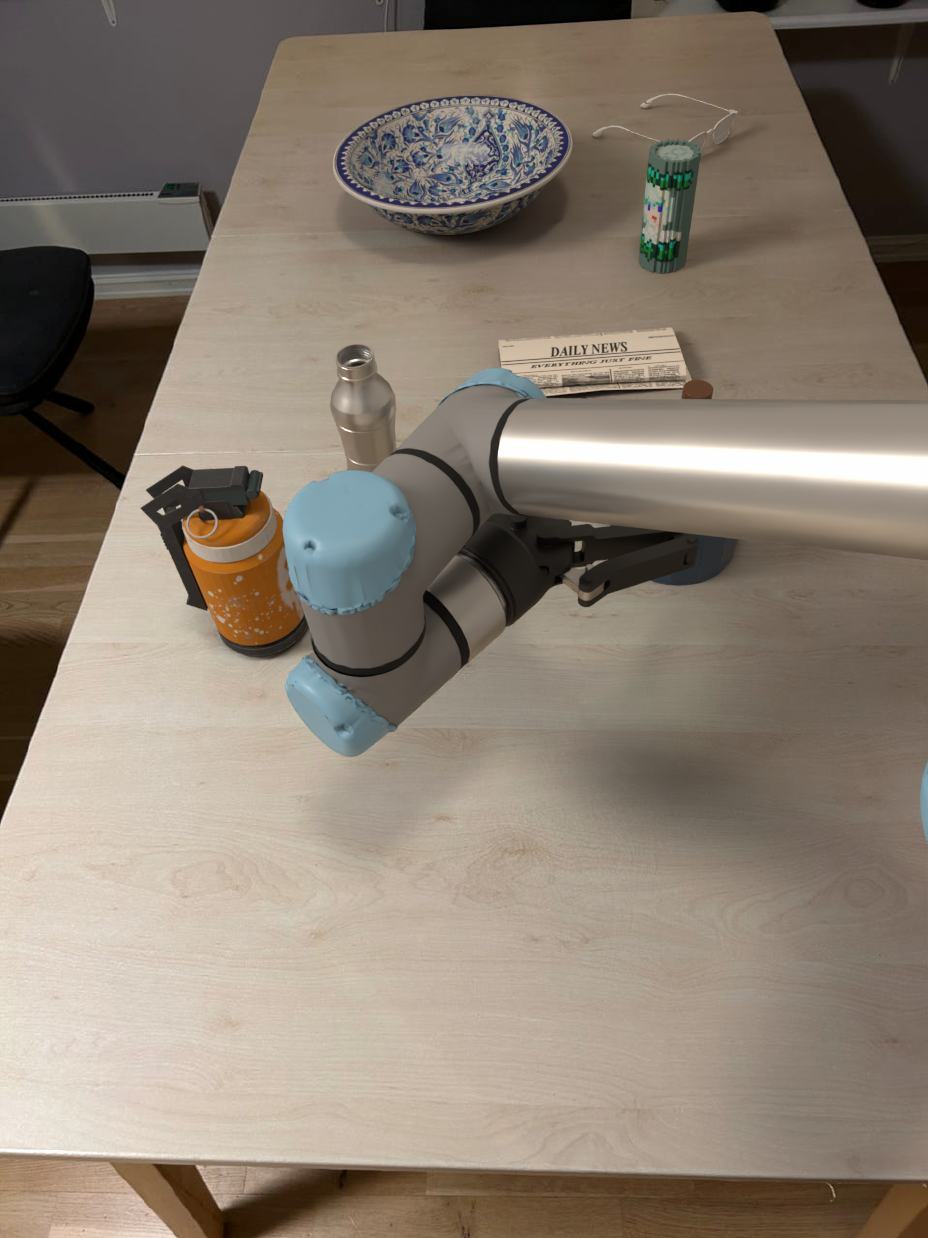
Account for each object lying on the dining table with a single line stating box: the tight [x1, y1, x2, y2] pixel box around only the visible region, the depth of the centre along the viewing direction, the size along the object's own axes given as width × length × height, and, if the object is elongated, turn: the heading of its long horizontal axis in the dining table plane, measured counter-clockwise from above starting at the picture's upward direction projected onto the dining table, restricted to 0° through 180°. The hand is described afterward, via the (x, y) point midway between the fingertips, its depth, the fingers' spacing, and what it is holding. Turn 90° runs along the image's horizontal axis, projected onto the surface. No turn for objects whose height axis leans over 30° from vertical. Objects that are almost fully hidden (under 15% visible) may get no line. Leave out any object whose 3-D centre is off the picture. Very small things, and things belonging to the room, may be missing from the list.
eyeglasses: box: [592, 93, 739, 153], centre depth 150 cm, size 15×18×4 cm
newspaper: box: [497, 327, 693, 397], centre depth 114 cm, size 23×12×2 cm, turn 92°
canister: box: [139, 465, 308, 657], centre depth 84 cm, size 9×11×20 cm
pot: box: [610, 525, 738, 586], centre depth 93 cm, size 13×18×10 cm
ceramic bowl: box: [332, 94, 574, 236], centre depth 136 cm, size 34×34×10 cm
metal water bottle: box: [329, 343, 397, 472], centre depth 93 cm, size 6×7×20 cm
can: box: [638, 138, 702, 274], centre depth 123 cm, size 6×6×15 cm
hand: (649, 443), depth 77 cm, fingers open, 13 cm apart
